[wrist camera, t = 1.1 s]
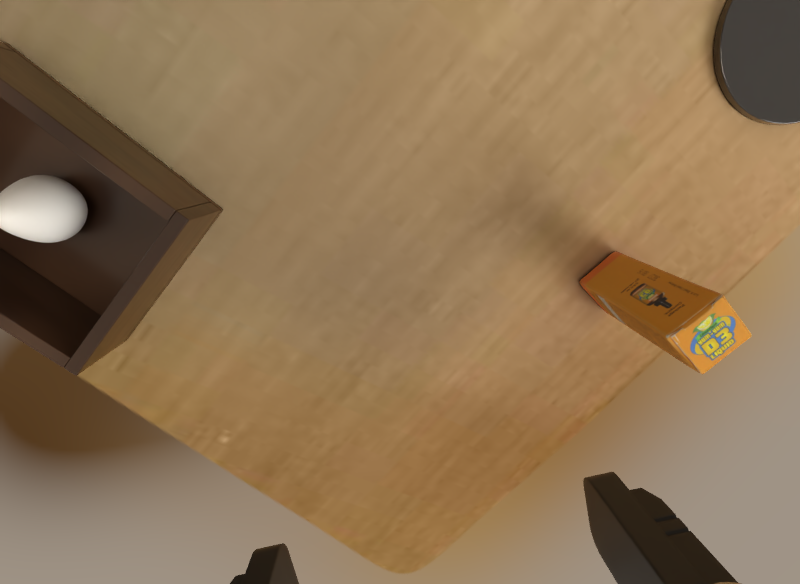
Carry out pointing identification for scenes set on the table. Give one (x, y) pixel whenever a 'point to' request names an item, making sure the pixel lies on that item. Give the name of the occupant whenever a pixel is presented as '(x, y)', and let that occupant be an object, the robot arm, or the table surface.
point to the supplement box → (667, 310)
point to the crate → (87, 222)
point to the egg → (42, 209)
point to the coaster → (760, 59)
